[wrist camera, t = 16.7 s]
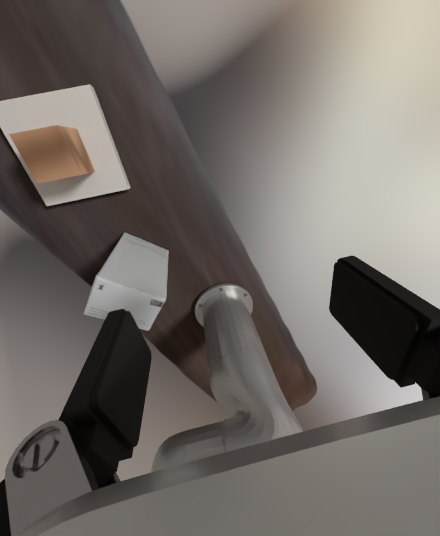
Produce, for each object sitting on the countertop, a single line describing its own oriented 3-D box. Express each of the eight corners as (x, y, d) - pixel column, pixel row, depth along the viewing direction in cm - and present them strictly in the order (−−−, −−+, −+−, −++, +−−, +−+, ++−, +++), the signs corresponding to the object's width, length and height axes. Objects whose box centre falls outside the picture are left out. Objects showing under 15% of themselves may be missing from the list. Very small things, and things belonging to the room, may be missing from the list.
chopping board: (130, 187, 32) (128, 189, 31) (51, 204, 32) (46, 206, 31) (93, 87, 26) (89, 84, 25) (-6, 105, 26) (-14, 103, 25)
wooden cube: (95, 171, 29) (79, 175, 25) (59, 178, 29) (37, 183, 25) (76, 128, 27) (56, 125, 23) (37, 136, 27) (8, 134, 22)
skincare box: (113, 258, 37) (76, 315, 24) (125, 229, 35) (91, 275, 22) (159, 275, 40) (147, 335, 27) (172, 249, 38) (166, 300, 25)
